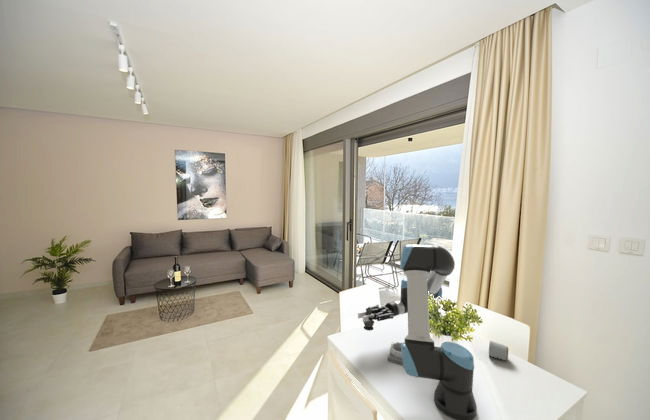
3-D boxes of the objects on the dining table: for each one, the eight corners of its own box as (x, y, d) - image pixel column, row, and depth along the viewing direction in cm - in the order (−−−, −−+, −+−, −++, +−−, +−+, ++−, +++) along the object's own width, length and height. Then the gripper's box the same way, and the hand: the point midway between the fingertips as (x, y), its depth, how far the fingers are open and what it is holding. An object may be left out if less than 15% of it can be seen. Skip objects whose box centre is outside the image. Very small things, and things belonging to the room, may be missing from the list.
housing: (430, 371, 125) (431, 363, 124) (387, 360, 132) (388, 353, 132) (431, 354, 138) (431, 346, 138) (392, 344, 146) (392, 337, 146)
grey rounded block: (508, 364, 131) (509, 349, 130) (488, 358, 135) (489, 344, 135) (506, 353, 140) (507, 339, 140) (488, 348, 144) (489, 335, 144)
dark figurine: (361, 326, 144) (361, 305, 143) (370, 324, 147) (370, 303, 146) (367, 331, 139) (367, 309, 138) (376, 329, 141) (377, 307, 140)
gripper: (404, 321, 144) (370, 331, 133) (384, 309, 158) (351, 317, 147) (405, 308, 143) (370, 317, 132) (384, 297, 158) (351, 304, 147)
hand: (360, 317), depth 140 cm, fingers closed on dark figurine, 3 cm apart
